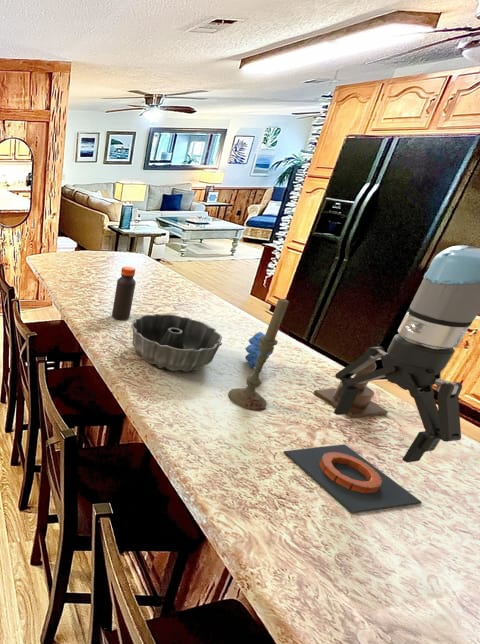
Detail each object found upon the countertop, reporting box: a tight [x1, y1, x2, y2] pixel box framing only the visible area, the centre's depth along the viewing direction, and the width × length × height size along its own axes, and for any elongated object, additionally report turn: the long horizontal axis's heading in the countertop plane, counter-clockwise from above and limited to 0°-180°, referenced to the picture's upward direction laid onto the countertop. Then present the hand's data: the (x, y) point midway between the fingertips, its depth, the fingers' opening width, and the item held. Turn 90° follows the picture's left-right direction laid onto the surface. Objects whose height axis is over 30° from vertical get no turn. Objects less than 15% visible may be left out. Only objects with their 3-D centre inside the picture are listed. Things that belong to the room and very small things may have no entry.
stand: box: [313, 361, 389, 419], centre depth 102 cm, size 11×11×14 cm
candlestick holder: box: [227, 297, 290, 411], centre depth 98 cm, size 9×9×30 cm
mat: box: [283, 444, 422, 514], centre depth 81 cm, size 16×16×1 cm
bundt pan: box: [130, 313, 223, 373], centre depth 123 cm, size 26×26×10 cm
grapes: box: [244, 331, 274, 369], centre depth 118 cm, size 12×7×12 cm, turn 166°
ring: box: [319, 452, 382, 493], centre depth 81 cm, size 10×10×2 cm
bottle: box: [111, 266, 136, 321], centre depth 149 cm, size 7×7×20 cm
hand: (372, 435), depth 76 cm, fingers open, 13 cm apart
